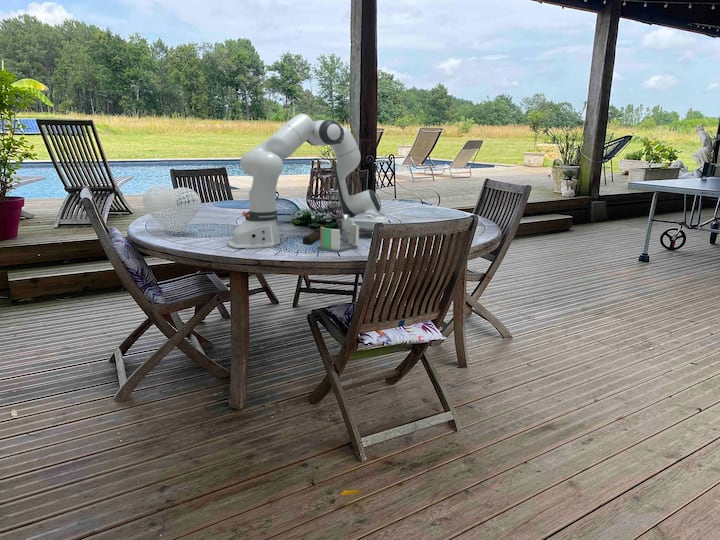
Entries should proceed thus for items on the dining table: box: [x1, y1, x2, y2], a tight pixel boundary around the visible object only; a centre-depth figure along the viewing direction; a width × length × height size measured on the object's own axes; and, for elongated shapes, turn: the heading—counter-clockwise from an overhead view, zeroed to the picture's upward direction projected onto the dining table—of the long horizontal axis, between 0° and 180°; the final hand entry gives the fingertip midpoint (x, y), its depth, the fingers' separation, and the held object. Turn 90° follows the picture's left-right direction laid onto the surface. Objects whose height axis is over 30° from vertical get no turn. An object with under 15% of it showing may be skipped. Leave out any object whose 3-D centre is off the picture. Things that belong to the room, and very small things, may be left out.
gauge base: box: [316, 226, 358, 254], centre depth 212 cm, size 15×11×9 cm
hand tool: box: [302, 227, 321, 245], centre depth 226 cm, size 19×4×5 cm, turn 164°
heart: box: [142, 185, 201, 233], centre depth 233 cm, size 28×16×22 cm, turn 65°
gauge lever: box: [319, 213, 360, 246], centre depth 208 cm, size 15×9×12 cm, turn 131°
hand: (363, 226), depth 225 cm, fingers open, 8 cm apart
